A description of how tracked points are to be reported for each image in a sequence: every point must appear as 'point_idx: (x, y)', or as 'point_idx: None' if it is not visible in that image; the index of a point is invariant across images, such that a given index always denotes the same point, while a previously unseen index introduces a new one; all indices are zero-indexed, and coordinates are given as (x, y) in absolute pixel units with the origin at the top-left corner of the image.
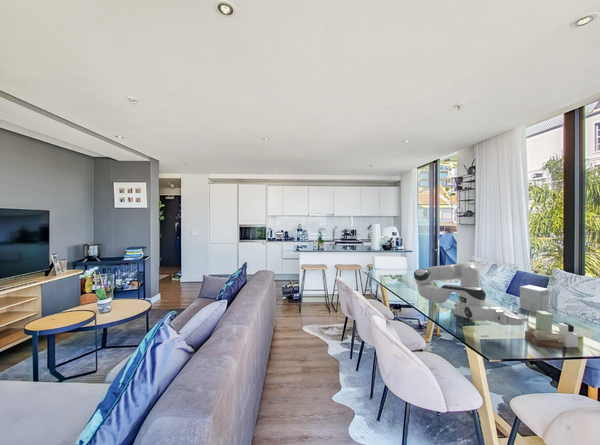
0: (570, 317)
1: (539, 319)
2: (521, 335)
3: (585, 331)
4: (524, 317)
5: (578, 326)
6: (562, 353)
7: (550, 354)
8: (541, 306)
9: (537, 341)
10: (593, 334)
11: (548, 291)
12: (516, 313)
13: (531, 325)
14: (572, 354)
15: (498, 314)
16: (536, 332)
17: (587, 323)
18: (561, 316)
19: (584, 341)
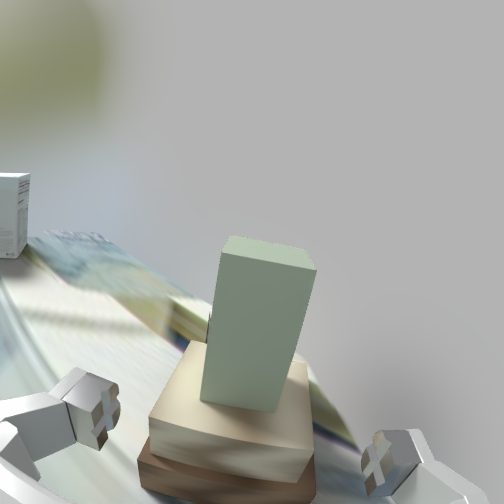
0: (72, 245)
1: (259, 333)
2: (111, 482)
3: (143, 276)
4: (395, 450)
5: (114, 265)
6: (347, 446)
7: (384, 500)
8: (19, 232)
9: (306, 500)
10: (164, 278)
11: (29, 181)
12: (104, 414)
13: (162, 400)
14: (341, 417)
15: None
16: (282, 455)
17: (110, 249)
18: (58, 248)
19: (207, 318)
